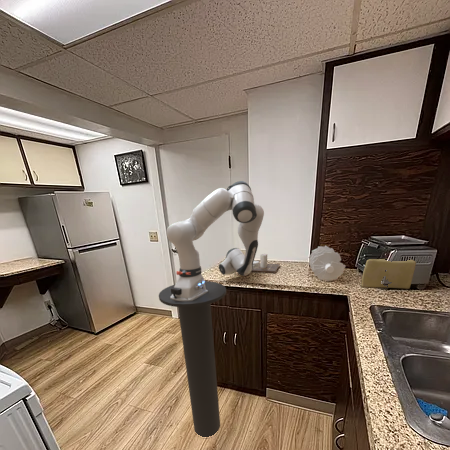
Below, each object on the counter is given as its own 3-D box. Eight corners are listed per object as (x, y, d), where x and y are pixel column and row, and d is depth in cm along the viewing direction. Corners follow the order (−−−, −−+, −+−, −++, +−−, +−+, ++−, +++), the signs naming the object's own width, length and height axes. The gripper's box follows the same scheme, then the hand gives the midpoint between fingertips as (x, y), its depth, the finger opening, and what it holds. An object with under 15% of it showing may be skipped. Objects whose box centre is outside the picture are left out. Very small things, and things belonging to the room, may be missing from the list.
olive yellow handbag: (364, 289, 130) (369, 261, 125) (358, 283, 139) (362, 257, 134) (410, 289, 127) (417, 261, 121) (401, 283, 136) (407, 256, 130)
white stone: (260, 267, 177) (260, 255, 173) (260, 266, 181) (260, 253, 178) (267, 267, 176) (267, 255, 172) (267, 265, 180) (267, 253, 177)
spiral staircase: (319, 289, 146) (312, 274, 168) (350, 276, 140) (339, 263, 162) (308, 262, 140) (302, 251, 163) (339, 248, 135) (329, 239, 157)
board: (274, 273, 167) (274, 271, 167) (246, 271, 174) (246, 269, 173) (279, 266, 184) (279, 264, 184) (253, 265, 191) (253, 263, 191)
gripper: (251, 262, 154) (265, 258, 162) (229, 257, 168) (243, 254, 176) (251, 271, 156) (265, 267, 164) (229, 266, 170) (243, 263, 179)
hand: (253, 260), depth 170 cm, fingers open, 8 cm apart
